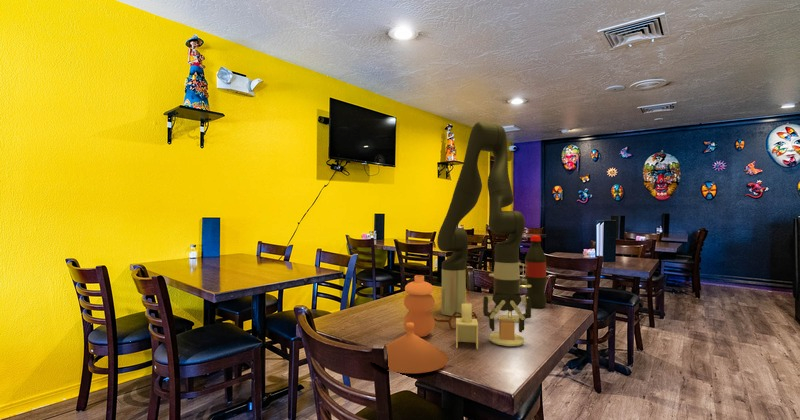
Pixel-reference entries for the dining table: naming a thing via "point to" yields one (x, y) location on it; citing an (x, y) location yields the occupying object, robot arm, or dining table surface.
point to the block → (507, 329)
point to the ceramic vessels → (416, 333)
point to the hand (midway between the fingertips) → (506, 330)
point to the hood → (466, 326)
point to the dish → (496, 339)
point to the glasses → (452, 317)
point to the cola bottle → (536, 273)
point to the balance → (522, 284)
